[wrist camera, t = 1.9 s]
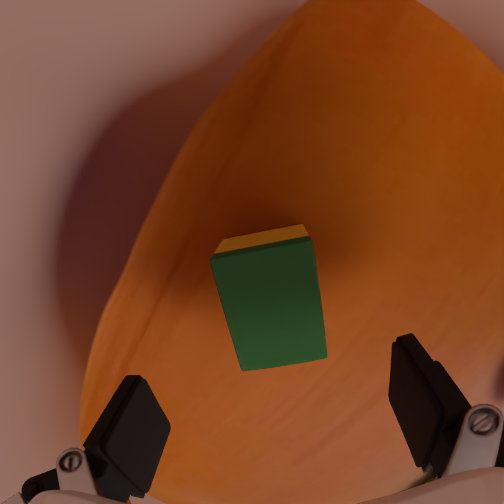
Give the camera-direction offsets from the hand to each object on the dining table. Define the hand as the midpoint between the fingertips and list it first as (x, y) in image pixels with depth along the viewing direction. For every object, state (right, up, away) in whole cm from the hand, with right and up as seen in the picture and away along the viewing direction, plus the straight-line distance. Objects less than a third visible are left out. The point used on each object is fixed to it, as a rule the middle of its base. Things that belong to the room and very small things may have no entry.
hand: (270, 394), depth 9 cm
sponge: (+1, +3, +9) cm, 9 cm away
